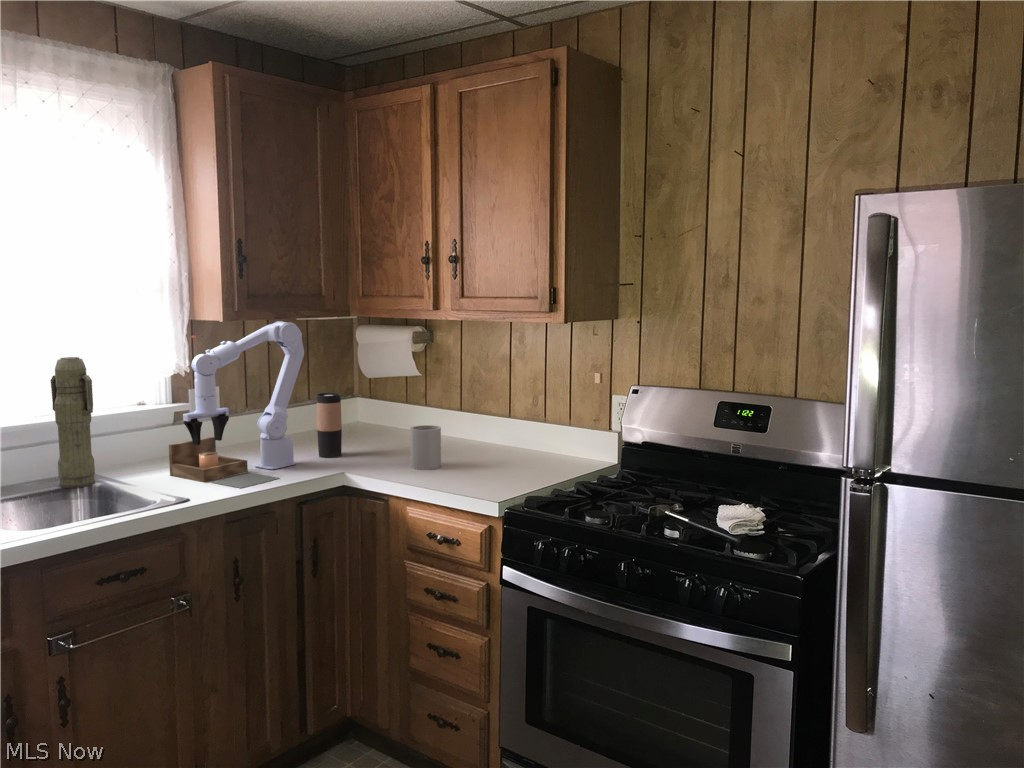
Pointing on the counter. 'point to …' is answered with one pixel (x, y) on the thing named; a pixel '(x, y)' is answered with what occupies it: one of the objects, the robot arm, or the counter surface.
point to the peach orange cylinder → (208, 459)
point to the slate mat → (246, 480)
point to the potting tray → (187, 462)
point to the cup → (425, 447)
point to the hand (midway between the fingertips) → (207, 442)
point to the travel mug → (329, 425)
